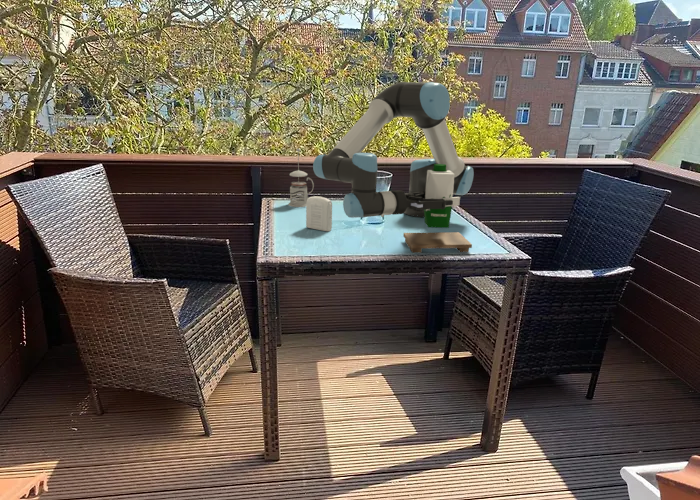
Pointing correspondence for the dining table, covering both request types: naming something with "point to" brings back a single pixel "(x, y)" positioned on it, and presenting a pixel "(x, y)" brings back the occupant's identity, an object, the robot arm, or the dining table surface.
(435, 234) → the stand
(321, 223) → the photo printer
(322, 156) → the robot arm
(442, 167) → the soya milk
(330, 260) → the dining table surface
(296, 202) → the french press
